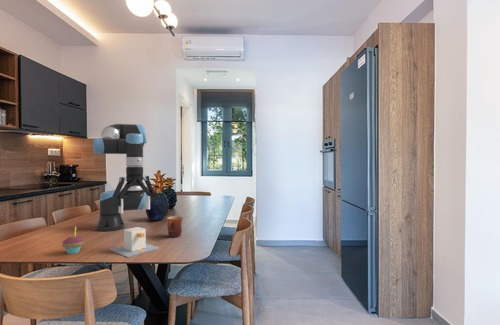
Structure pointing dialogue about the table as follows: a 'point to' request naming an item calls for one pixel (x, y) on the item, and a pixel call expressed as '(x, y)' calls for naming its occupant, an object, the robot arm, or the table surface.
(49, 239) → the table surface
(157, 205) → the decorative orb
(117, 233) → the table surface
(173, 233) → the mug
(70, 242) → the cupcake
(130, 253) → the post base
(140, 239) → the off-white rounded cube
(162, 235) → the table surface
